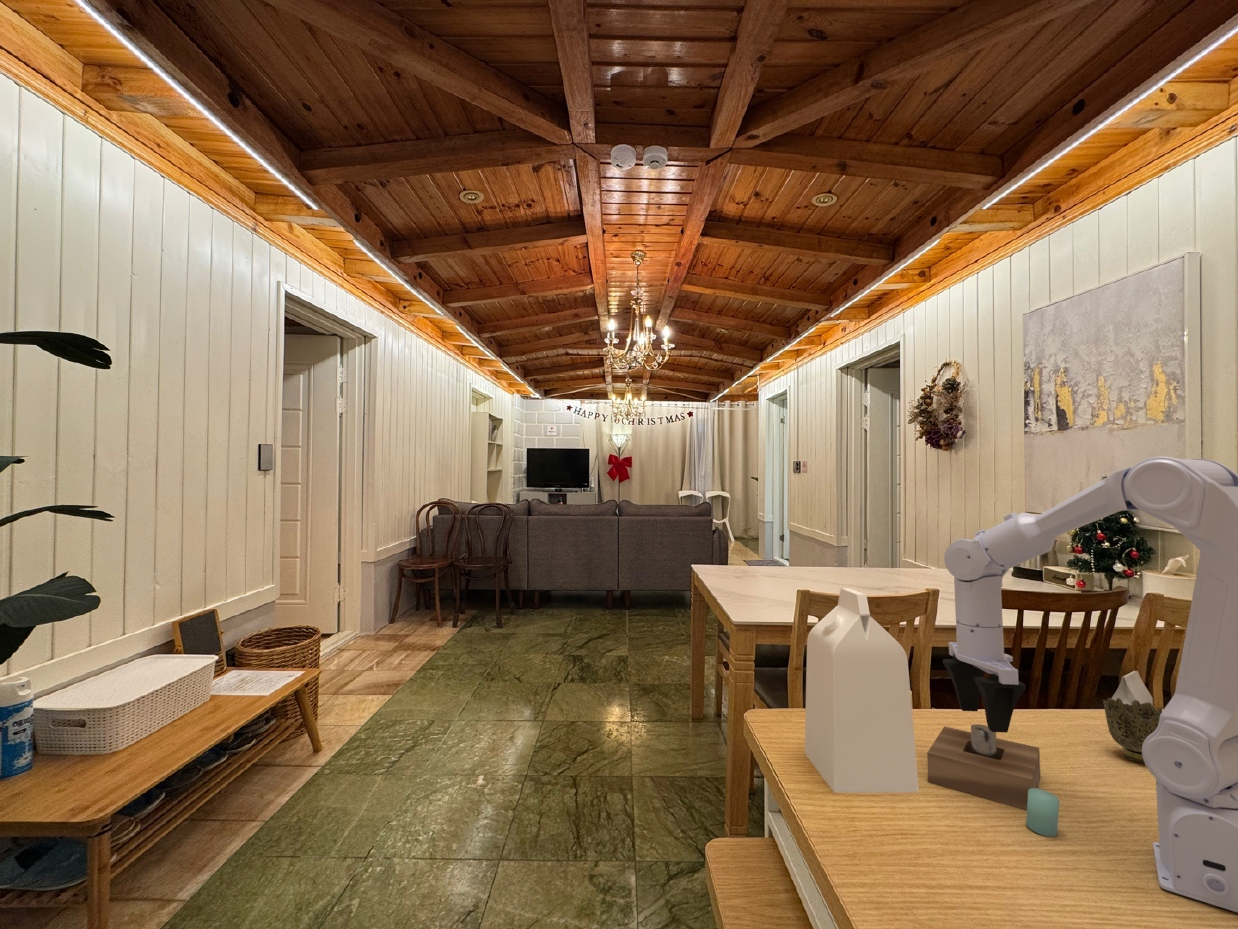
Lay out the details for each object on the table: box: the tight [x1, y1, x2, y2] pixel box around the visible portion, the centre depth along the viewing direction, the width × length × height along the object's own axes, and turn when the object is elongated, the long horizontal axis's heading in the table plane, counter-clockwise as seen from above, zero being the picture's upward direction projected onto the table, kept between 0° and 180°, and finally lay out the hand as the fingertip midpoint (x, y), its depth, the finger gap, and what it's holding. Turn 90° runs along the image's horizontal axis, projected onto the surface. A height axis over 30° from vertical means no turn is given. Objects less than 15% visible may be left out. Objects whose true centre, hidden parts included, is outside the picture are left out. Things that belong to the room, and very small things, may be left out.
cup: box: [1103, 697, 1163, 764], centre depth 87 cm, size 8×7×8 cm
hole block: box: [926, 725, 1041, 811], centre depth 81 cm, size 12×12×4 cm
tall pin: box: [970, 724, 997, 759], centre depth 81 cm, size 3×3×7 cm
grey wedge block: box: [1111, 670, 1154, 706], centre depth 96 cm, size 4×7×10 cm, turn 124°
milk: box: [804, 587, 920, 794], centre depth 84 cm, size 12×12×26 cm
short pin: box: [1025, 788, 1060, 838], centre depth 68 cm, size 3×3×4 cm
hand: (983, 720), depth 81 cm, fingers open, 7 cm apart
